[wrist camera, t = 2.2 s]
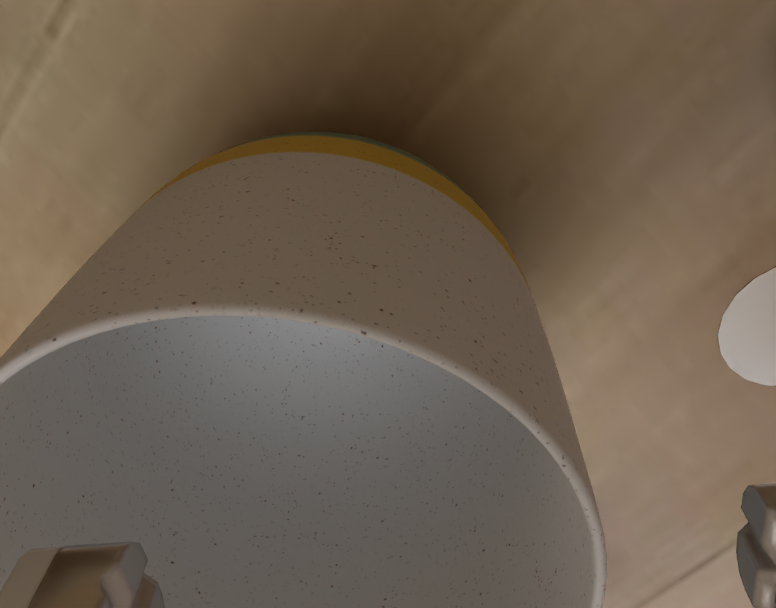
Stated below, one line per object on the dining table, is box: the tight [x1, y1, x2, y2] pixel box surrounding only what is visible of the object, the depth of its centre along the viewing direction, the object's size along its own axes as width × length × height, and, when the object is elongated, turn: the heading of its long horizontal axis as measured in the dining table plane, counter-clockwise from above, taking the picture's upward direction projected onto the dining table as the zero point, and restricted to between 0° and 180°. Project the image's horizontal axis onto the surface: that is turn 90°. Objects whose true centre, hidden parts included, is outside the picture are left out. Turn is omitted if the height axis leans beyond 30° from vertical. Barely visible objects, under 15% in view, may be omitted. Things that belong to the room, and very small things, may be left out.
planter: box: [0, 131, 607, 608], centre depth 31 cm, size 20×20×21 cm
